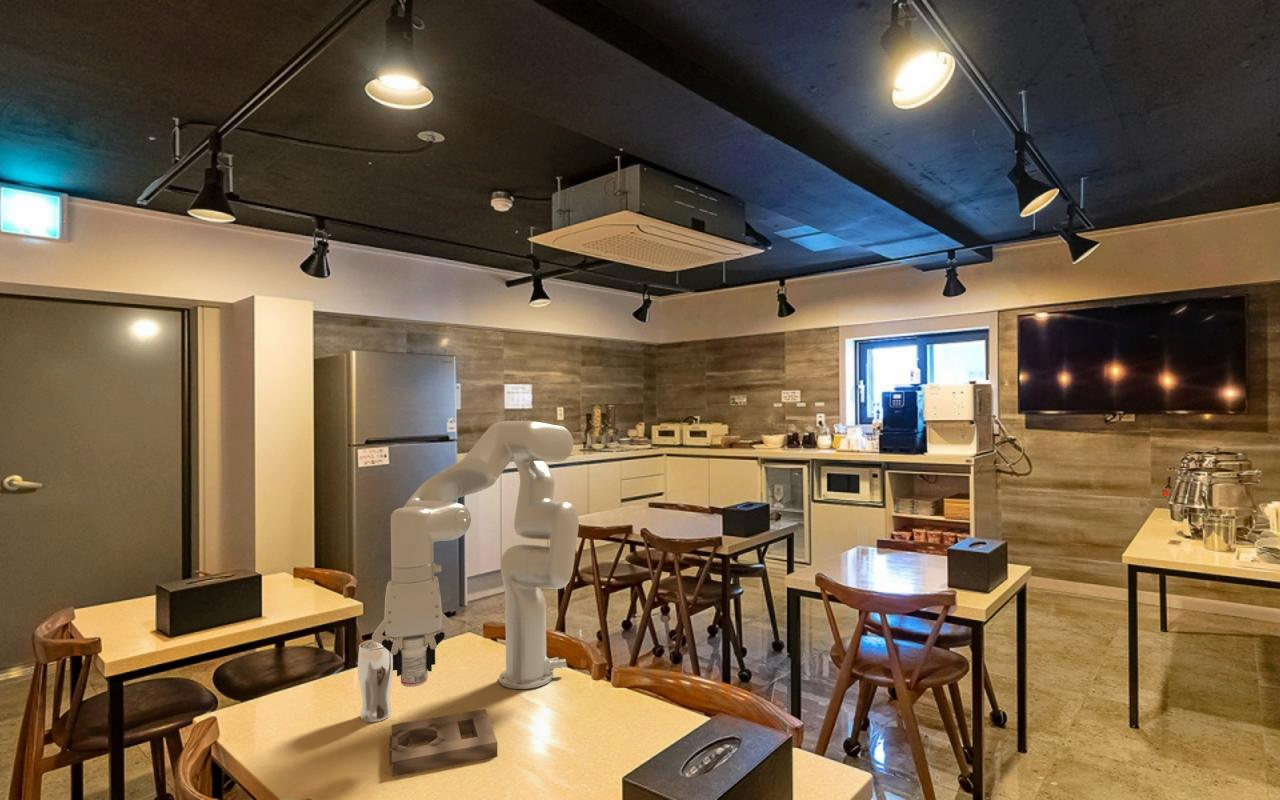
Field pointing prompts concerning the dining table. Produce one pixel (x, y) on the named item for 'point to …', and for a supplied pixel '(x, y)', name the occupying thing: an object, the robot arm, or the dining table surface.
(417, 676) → the pill bottle
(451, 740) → the socket plate
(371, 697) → the beer glass
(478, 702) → the dining table surface
